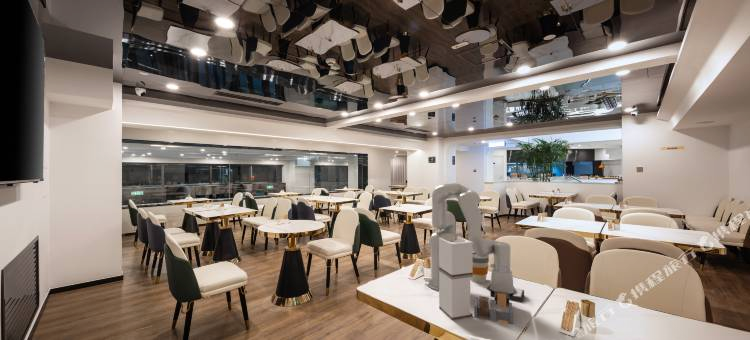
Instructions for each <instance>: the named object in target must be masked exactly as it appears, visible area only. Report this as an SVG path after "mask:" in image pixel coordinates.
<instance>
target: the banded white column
mask: <svg viewBox="0 0 750 340" xmlns="http://www.w3.org/2000/svg"><path fill="white" fill-rule="evenodd" d="M472 253H473V248H472V242H471V241H469V239H466V238H464V237H461V236H459V235H458V236H456V242H455V241H454V242H449V241H446V240H444V239H442V238H439V290H438V299H439V300H438V303H439V305H438V306H439V307H438V308H439V310H440V311H442V312H443V313H444V314H445V315H446V316H447V318H449V320H451V321H455V320H460V319H466V318H472V317H473V316H474V313H472V312H471V280H473V256H472Z"/></svg>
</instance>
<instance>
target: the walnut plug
mask: <svg viewBox="0 0 750 340" xmlns="http://www.w3.org/2000/svg"><path fill="white" fill-rule="evenodd" d="M489 299H490V298H489V296H488V297H487V296H482V295H479V296H478V308H479V315H483V316H488V315H489V310H490V304H489V303H490V301H489Z"/></svg>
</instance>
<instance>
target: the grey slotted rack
mask: <svg viewBox="0 0 750 340" xmlns="http://www.w3.org/2000/svg"><path fill="white" fill-rule="evenodd" d="M489 299H490V298H489ZM489 303H490V304H489V315H488V316H483V315H479V296H478V297H477V296H475V299H474V303H473V304H474V305H473V316H474V318H476V319H482V320H487V321H491V322H492V321H493V322H497V323H505V324H509V325H510V324H511V325H514V311H513V303H512V302H510V301H509V304H508V312H506V311H501V310H497V305H496V300H494V299H492V298H491V299H490V301H489Z"/></svg>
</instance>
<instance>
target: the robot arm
mask: <svg viewBox="0 0 750 340" xmlns="http://www.w3.org/2000/svg"><path fill="white" fill-rule="evenodd" d="M449 199H456V200H457V203H458V205H459V207H460V210H461V212H462V214H463V216H464V219H465V221H466V224H467V238H468V241H471V242H472V251H474V252H473V253H476V254H477V255H478V256H480V257H486V256H488V257H489V256H490V255H493V263H492V264H491V263H490V268H492V269H491V270H492V271H491V273H490V274H491V275H490V283H489V284H488V285H487V287H486V290H487V291H488V292H491V293H492V294H493V295H494V296H495V297H494V299H493V300H496V306H498V305H497V292H502V293H506V294H507V296H506V307H508V308H509V302H510V300H509V299H510V297H512V296H513V295H515V294H517V291H516V289H515V286H514V275H513V273H512V272H513V271H511V245H510V244H509V243H508V242H505V241H498V240H494V239H491V238H485V239H484V237H483V234H482V224H483V220H484V217H483V214H482V212H481V211H480V208H479V204H480V202H481V197H480V195H479V194H478V193H477V192H476V191H474V190H472V189H470V188H468V187H466V186H464V185H462V184H460V183H455V182H452V183H443V184H440V185H437V186H436V187H435V188H434V189H433V191H432V194H431V202H432V203H431V207H432V209H431V224H432V226H433V227H432V228H434V229H435V230H438V231H435V232H433V233H432V234H431V235H430V236H429V238H428V239H429V248H430V249H429V250H430V276H424V277H423V280H424V282H427V283H428V287H429V288H430V289H432V290H435V291H439V238H442V239H444V240H446V241H449V242H454V243H455V240H456V226H457V225H456V217H455V215H454V214H453V213H452V212H451V211H448V203H447V200H449Z"/></svg>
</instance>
